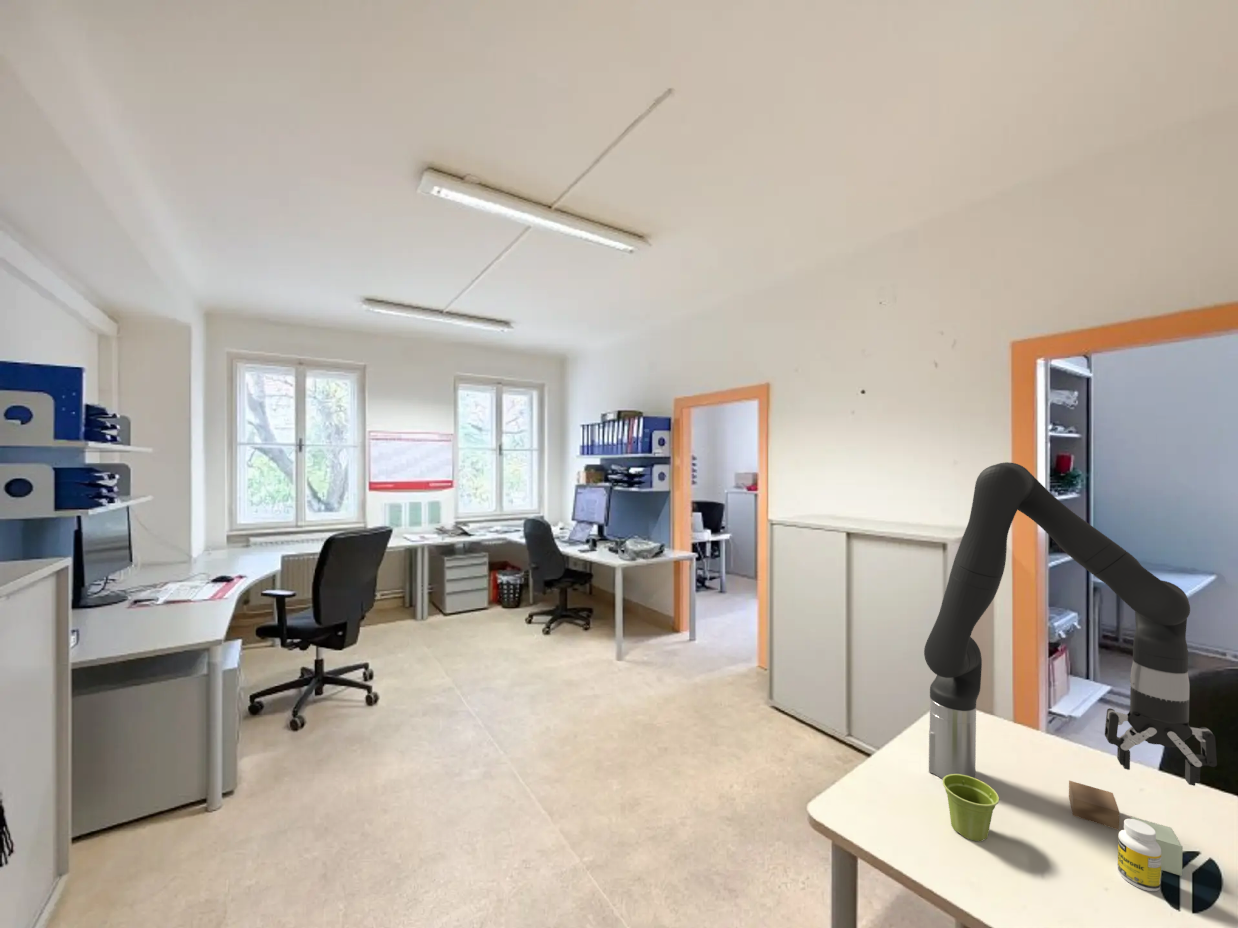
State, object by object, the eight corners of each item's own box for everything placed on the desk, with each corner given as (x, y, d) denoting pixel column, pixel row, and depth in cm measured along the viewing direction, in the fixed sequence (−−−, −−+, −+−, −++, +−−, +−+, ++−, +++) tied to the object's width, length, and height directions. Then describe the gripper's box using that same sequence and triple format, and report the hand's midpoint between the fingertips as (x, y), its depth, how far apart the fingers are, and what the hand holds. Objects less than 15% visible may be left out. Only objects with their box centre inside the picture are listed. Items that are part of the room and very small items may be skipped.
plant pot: (988, 819, 106) (989, 778, 106) (1006, 853, 97) (1006, 809, 97) (936, 809, 109) (937, 769, 109) (949, 841, 100) (949, 798, 100)
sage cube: (1139, 863, 95) (1139, 834, 95) (1130, 843, 99) (1131, 816, 99) (1181, 876, 92) (1182, 846, 92) (1170, 855, 96) (1171, 827, 96)
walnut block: (1072, 816, 107) (1073, 798, 107) (1068, 797, 113) (1069, 780, 113) (1119, 831, 103) (1119, 811, 103) (1112, 810, 109) (1112, 792, 108)
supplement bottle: (1108, 868, 94) (1110, 816, 93) (1135, 866, 94) (1137, 814, 94) (1141, 893, 88) (1142, 838, 88) (1169, 891, 89) (1171, 836, 88)
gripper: (1112, 688, 96) (1110, 772, 96) (1225, 708, 88) (1222, 800, 88) (1102, 673, 102) (1100, 752, 102) (1206, 690, 94) (1204, 777, 95)
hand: (1157, 774), depth 95 cm, fingers open, 8 cm apart
